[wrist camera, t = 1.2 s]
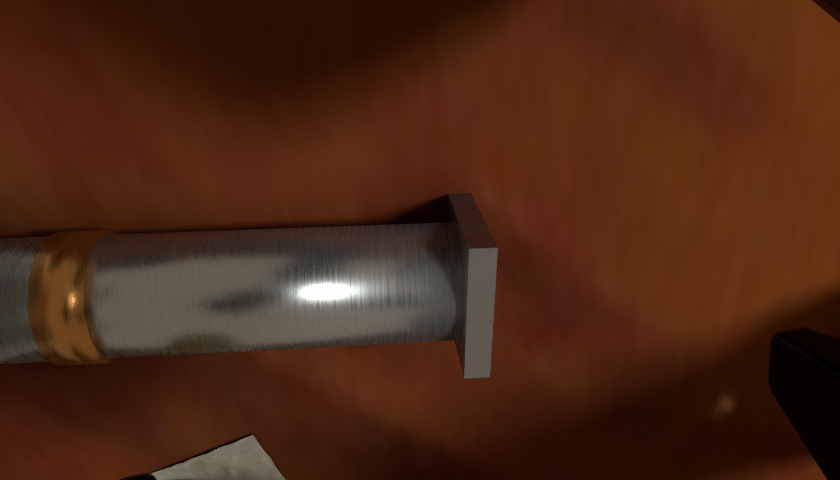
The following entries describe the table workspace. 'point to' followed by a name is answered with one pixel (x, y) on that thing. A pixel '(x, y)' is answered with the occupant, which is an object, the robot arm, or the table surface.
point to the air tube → (250, 290)
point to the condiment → (226, 464)
